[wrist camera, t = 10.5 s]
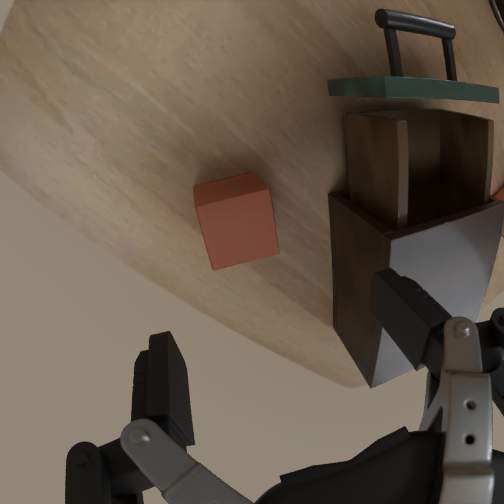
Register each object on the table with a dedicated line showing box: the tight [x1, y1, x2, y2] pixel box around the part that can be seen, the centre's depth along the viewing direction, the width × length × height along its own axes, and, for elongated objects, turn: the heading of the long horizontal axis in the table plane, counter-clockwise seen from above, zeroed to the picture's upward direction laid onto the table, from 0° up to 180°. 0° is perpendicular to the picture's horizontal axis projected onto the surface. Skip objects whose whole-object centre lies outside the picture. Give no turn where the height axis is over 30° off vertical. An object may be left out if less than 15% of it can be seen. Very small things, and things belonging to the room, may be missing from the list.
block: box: [193, 172, 279, 270], centre depth 20 cm, size 4×4×4 cm
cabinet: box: [328, 189, 504, 388], centre depth 24 cm, size 15×13×9 cm
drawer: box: [327, 8, 499, 232], centre depth 18 cm, size 18×11×7 cm, turn 10°
